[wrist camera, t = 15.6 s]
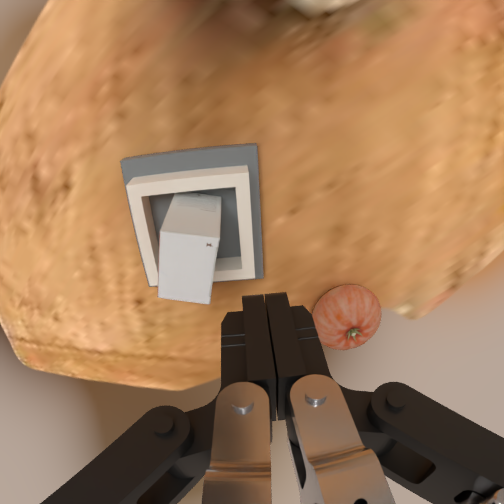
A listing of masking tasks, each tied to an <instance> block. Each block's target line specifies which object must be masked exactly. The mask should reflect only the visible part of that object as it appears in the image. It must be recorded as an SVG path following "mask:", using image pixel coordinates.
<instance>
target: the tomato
mask: <svg viewBox="0 0 504 504" xmlns="http://www.w3.org/2000/svg"><path fill="white" fill-rule="evenodd" d="M312 317H313V320H314V323H315V326H316V330H317V333H318V337H319V339H320V342H321V343H322V344H324V345H326V346H327V347H329V348H332V349H336V350H347V349H351V348H356V347H358V346H360V345H362V344H364V343H365V342H366V341H367V340H368V339H370V338H371V337H372V336H373V335H374V334H375V332H376V331H377V329H378V327H379V324H380V320H381V307H380V303H379V301H378V299H377V297H376V296H375V295H374V294H373V293H372V292H371V291H369V290H368V289H366V288H364V287H362V286H359V285H342V286H338V287H335V288H333V289H331V290H330V291H328V292H327V293H326V294H324V295H323V296H322V297H321V298H320V299H319V301H318V302H317V304H316V305H315V307H314V310H313V313H312Z"/></svg>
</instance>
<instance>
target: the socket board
mask: <svg viewBox="0 0 504 504" xmlns="http://www.w3.org/2000/svg"><path fill="white" fill-rule="evenodd" d="M120 162H121V168H122V173H123V178H124V183H125V189H126V193H127V198H128V203H129V208H130V212H131V217H132V221H133V226H134V230H135V234H136V238H137V242H138V246H139V250H140V254H141V258H142V262H143V266H144V270H145V273H146V277H147V281H148V284H149V287H154V286H158V259H159V236H160V229H161V227H162V224H163V222H164V219H165V217H166V214H167V211H168V209H169V207H170V204H171V201H172V199H173V197H174V194H175V193H177V192H191V193H199V194H206V195H213V196H221V226H220V242H219V247H218V251H217V257H216V263H215V270H214V276H213V282H225V281H238V280H250V279H262V278H263V255H262V233H261V212H260V191H259V171H258V152H257V144H256V143H250V144H236V145H224V146H213V147H203V148H193V149H184V150H176V151H168V152H161V153H153V154H147V155H140V156H133V157H127V158H124V159H122V160H121V161H120Z"/></svg>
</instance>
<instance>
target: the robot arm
mask: <svg viewBox="0 0 504 504" xmlns="http://www.w3.org/2000/svg"><path fill="white" fill-rule="evenodd" d="M242 304H243V311H237V312H228V313H227V314H226V316H225V318H224V320H223V321H222V323H221V388H220V391H219V393H218V395H217V396H216V398H215V399H214V400H213V401H212V402H210V403H209V404H207V405H205V406H203V407H200V408H198V409H194V410H191V411H188V412H185V413H184V412H183V411H182V410H180V409H178V408H176V407H173V406H159V407H156V408H153V409H151V410H149V411H148V412H147V413H146V414H144V415H143V416H142V417H141V418H140V419H139V420H138V421H137V422H136V423H134V424H133V425H132V426H131V427H130V428H129V429H128V430H127V431H125V433H123V434H122V435H121V436H120V437H119V438H118V439H116V440H115V441H114V442H113V443H112V444H111V445H110V446H108V447H107V448H106V449H105V450H104V451H103V452H102V453H100V454H99V455H98V456H97V457H96V458H95V459H94V460H92V461H91V462H90V463H89V464H88V465H86V466H85V467H84V468H83V469H82V470H80V471H79V472H78V473H77V474H76V475H75V476H74V477H72V478H71V479H70V480H69V481H67V482H66V483H65V484H64V485H62V486H61V487H60V488H59V489H58V490H56V491H55V492H54V493H53V494H51V495H50V496H49V497H48V498H47V499H46V500H44V501H43V502H42V503H40V504H177V503H178V502H179V501H180V500H181V499H182V498H183V497H184V496H185V495H186V494H187V493H188V492H189V491H190V490H191V489H192V488H193V487H194V486H195V485H196V484H197V483H198V481H199V480H200V479H201V478H202V477H203V476H204V475H205V477H204V484H203V495H202V504H272V499H271V498H272V493H271V452H270V451H271V450H270V445H271V442H272V421H276V409H277V416H278V420H286V426H287V443H288V447H289V451H290V455H291V458H292V463H293V467H294V471H295V475H296V479H297V483H298V487H299V492H300V502H301V504H395V501H394V498H393V496H392V493H391V491H390V488H389V485H388V483H387V480H386V478H385V476H387V477H388V478H390V479H392V480H393V481H395V482H396V483H398V484H400V485H402V486H403V487H405V488H406V489H408V490H410V491H412V492H413V493H415V494H417V495H418V496H420V497H422V498H424V499H426V500H427V501H429V502H431V503H433V504H504V438H503V437H501V436H499V435H497V434H495V433H493V432H491V431H489V430H487V429H486V428H484V427H482V426H480V425H478V424H476V423H474V422H472V421H471V420H469V419H467V418H465V417H463V416H461V415H459V414H458V413H456V412H454V411H452V410H450V409H448V408H447V407H445V406H443V405H441V404H440V403H438V402H436V401H434V400H432V399H431V398H429V397H427V396H425V395H423V394H422V393H420V392H418V391H416V390H415V389H413V388H411V387H409V386H407V385H405V384H403V383H399V382H389V383H385V384H383V385H381V386H379V387H378V388H377V389H376V390H375V391H374V392H366V391H355V390H350V389H347V388H344V387H342V386H341V385H339V384H338V383H337V382H335V380H334V379H333V378H332V376H331V375H330V372H329V369H328V366H327V362H326V359H325V356H324V352H323V349H322V346H321V342H320V339H319V337H318V333H317V330H316V326H315V323H314V320H313V317H312V314H311V313H310V312H309V311H308V310H307V309H306V308H305V307H304V306H303V305H302V306H292V307H290V305H289V301H288V297H287V293H286V292H282V293H271V294H265V302H264V296H263V294H261V295H249V296H242Z"/></svg>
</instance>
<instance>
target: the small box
mask: <svg viewBox="0 0 504 504" xmlns="http://www.w3.org/2000/svg"><path fill="white" fill-rule="evenodd" d="M220 226H221V196H213V195H206V194H199V193H191V192H177V193H175V194H174V197H173V199H172V201H171V204H170V207H169V209H168V211H167V214H166V217H165V219H164V222H163V224H162V227H161V229H160V236H159V259H158V297H159V298H165V299H171V300H179V301H186V302H194V303H202V304H210V302H211V291H212V283H213V276H214V270H215V263H216V257H217V251H218V247H219V242H220Z"/></svg>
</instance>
